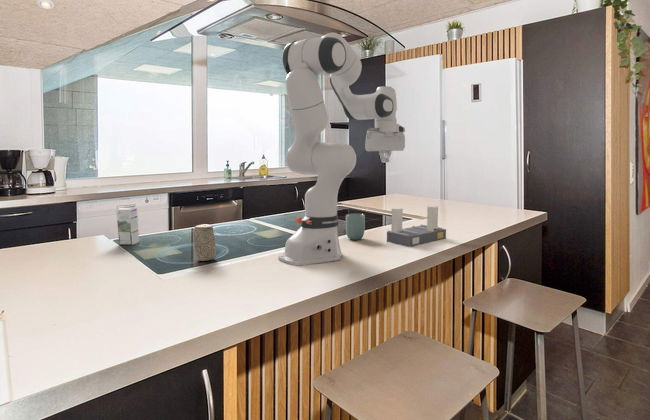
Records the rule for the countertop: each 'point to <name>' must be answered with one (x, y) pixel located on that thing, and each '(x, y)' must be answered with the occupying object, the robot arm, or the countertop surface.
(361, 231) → the cup
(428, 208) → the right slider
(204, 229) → the carving
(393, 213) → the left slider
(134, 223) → the syrup box
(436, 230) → the switch console
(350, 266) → the countertop surface
